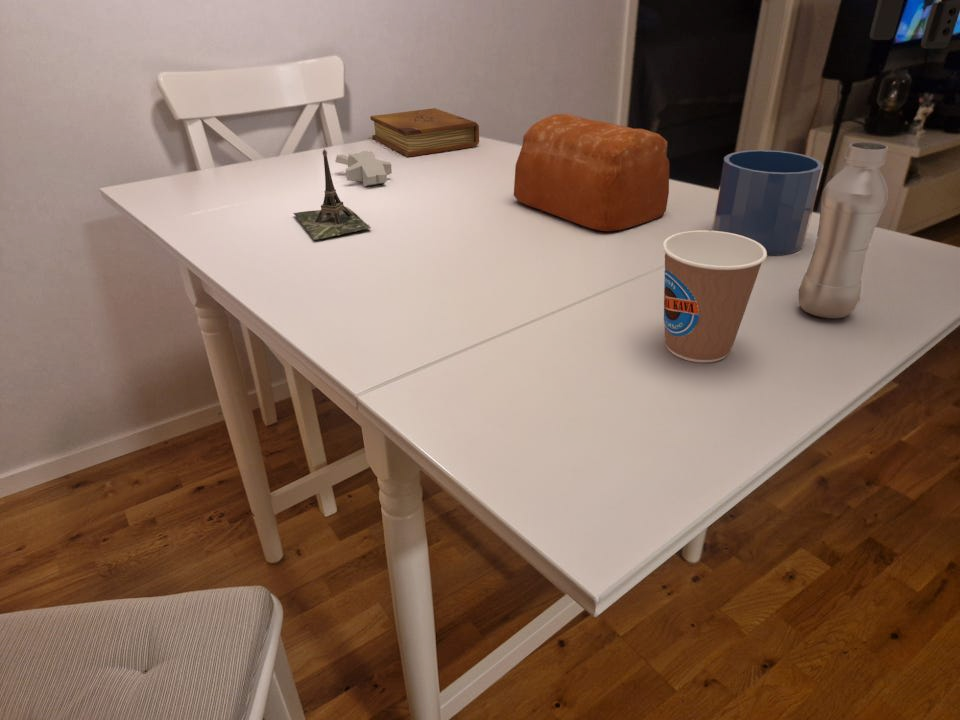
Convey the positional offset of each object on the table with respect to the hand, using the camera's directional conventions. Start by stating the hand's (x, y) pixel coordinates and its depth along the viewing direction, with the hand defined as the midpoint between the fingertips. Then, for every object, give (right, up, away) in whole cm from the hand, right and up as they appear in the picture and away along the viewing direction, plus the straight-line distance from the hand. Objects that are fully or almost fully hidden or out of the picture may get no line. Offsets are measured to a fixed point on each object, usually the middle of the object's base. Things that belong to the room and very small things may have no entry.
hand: (905, 43), depth 65 cm
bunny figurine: (-66, +6, +72) cm, 97 cm away
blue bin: (+1, -12, +37) cm, 39 cm away
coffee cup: (-17, -30, +10) cm, 36 cm away
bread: (-23, -4, +52) cm, 57 cm away
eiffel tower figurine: (-68, -8, +48) cm, 83 cm away
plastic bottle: (0, -26, +16) cm, 30 cm away
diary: (-56, +23, +98) cm, 115 cm away
